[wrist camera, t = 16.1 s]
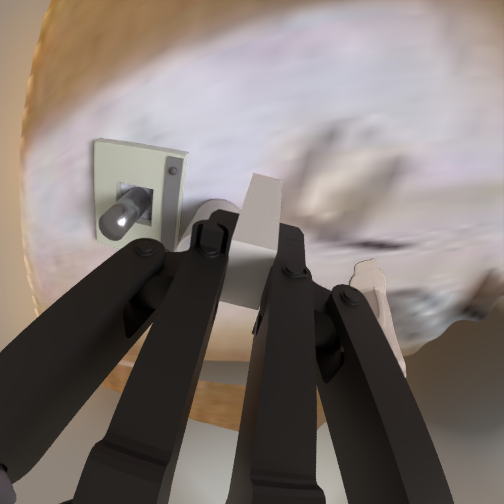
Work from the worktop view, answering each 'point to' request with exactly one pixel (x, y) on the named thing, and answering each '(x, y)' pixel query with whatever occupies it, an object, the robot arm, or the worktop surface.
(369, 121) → the worktop surface
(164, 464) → the robot arm
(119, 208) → the grey metal cylinder
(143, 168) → the plate
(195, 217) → the mug
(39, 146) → the worktop surface
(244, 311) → the worktop surface
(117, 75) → the worktop surface
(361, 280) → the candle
